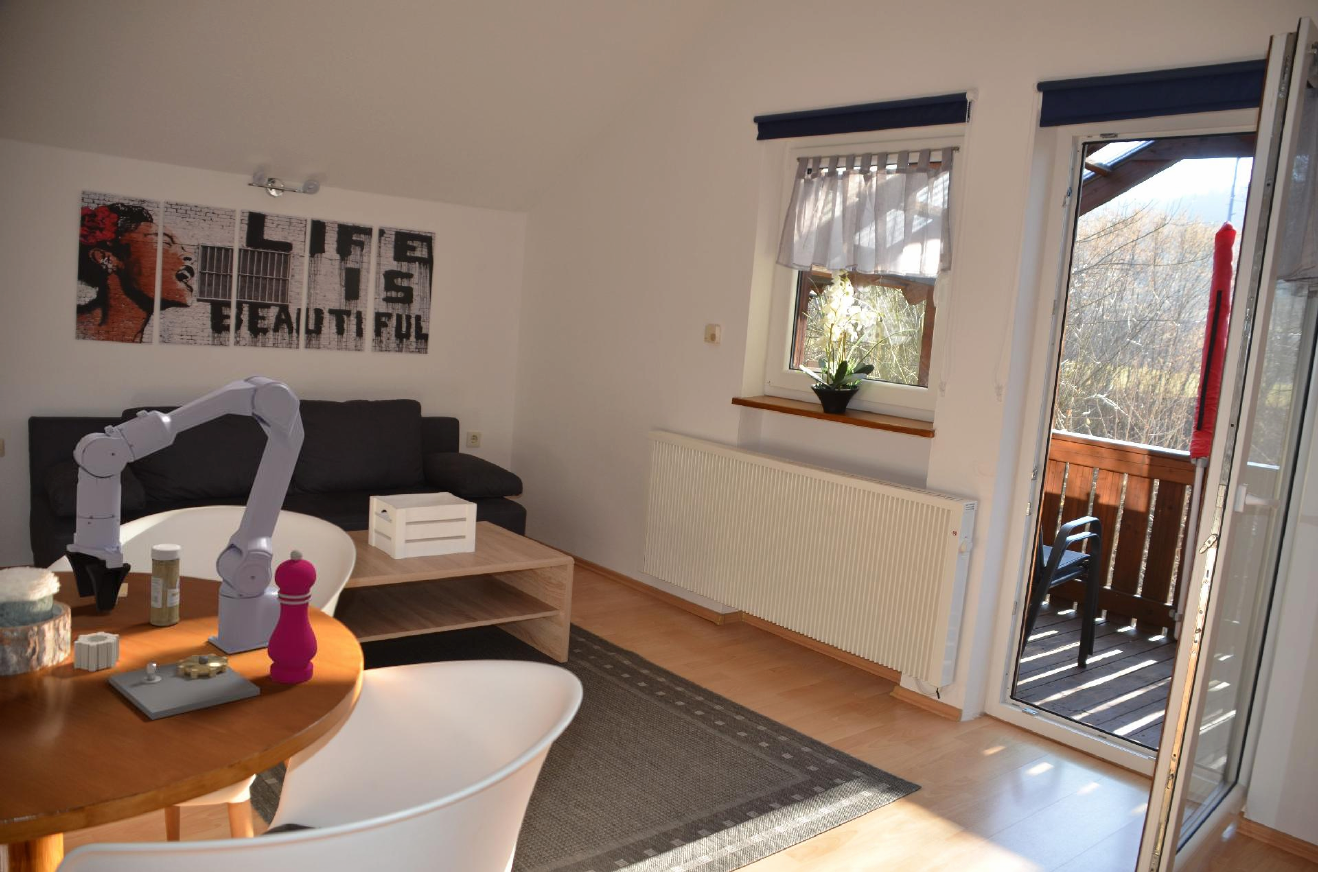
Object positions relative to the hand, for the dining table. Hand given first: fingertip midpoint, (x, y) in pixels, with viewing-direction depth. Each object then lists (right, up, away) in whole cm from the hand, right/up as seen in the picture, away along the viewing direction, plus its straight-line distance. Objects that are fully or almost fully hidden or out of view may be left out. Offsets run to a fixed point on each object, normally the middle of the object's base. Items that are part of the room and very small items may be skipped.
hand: (96, 602), depth 153 cm
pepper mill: (+28, -12, +3) cm, 31 cm away
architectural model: (-12, -6, +27) cm, 30 cm away
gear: (-1, -10, +1) cm, 10 cm away
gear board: (+15, -12, -4) cm, 20 cm away
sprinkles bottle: (0, -7, +21) cm, 22 cm away
